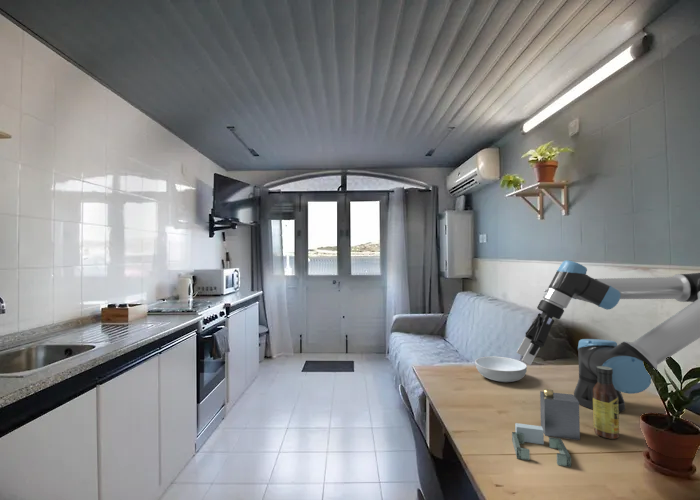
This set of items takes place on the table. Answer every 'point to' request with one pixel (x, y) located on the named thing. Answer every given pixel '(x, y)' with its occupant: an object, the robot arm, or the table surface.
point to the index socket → (556, 443)
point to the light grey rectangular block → (531, 433)
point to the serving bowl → (501, 368)
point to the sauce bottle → (605, 405)
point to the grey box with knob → (560, 415)
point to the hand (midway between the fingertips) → (522, 358)
